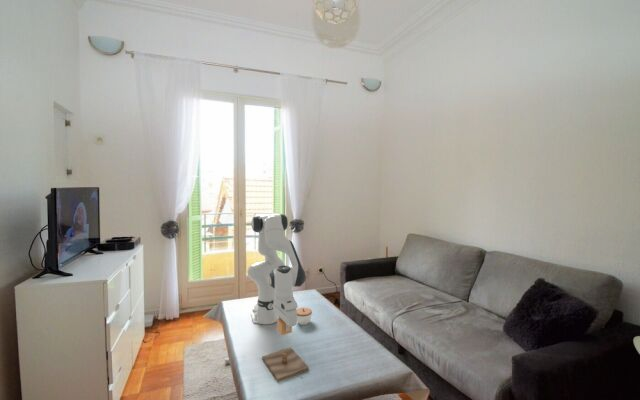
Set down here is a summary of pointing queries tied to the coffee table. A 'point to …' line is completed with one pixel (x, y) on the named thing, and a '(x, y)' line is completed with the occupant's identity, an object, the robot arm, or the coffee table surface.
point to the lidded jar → (303, 315)
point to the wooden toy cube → (282, 327)
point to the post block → (284, 364)
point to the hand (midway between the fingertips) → (284, 327)
